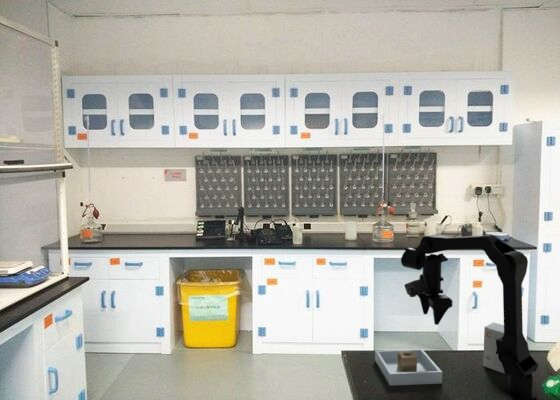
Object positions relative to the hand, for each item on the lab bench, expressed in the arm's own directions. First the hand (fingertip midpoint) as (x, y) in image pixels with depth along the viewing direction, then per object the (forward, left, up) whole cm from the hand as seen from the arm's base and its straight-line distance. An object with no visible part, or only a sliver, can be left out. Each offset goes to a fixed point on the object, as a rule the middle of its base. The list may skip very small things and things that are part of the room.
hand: (430, 319), depth 145 cm
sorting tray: (-9, +11, -13) cm, 19 cm away
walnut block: (-9, +11, -12) cm, 19 cm away
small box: (-9, -19, -13) cm, 25 cm away
